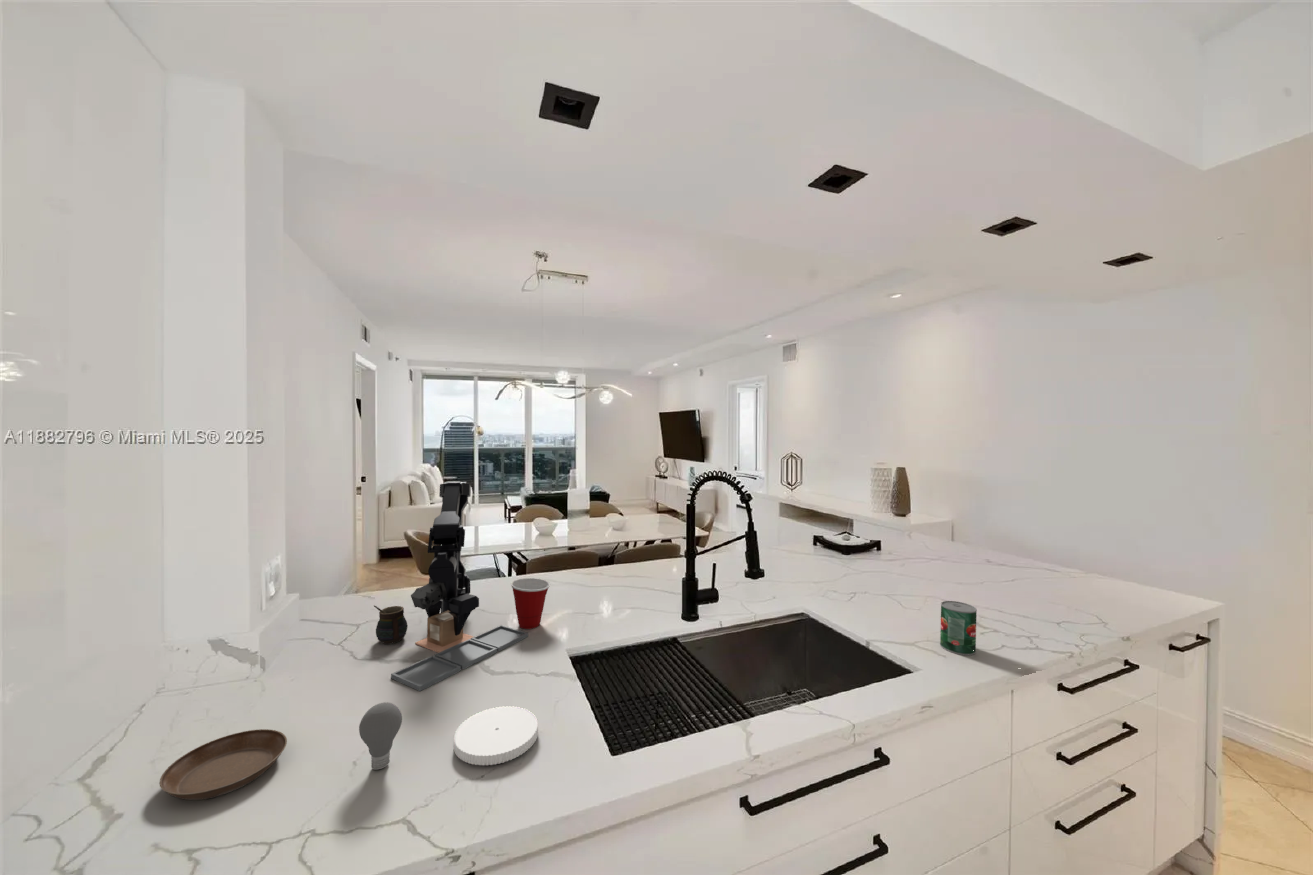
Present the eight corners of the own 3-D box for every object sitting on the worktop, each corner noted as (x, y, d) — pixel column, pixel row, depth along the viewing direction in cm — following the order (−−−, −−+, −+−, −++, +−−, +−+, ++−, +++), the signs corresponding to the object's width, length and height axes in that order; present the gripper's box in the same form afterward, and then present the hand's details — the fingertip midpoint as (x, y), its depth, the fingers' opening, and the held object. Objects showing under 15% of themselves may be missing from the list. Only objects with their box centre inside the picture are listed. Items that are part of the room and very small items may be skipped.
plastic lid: (539, 762, 79) (540, 747, 79) (448, 778, 75) (448, 762, 75) (536, 714, 92) (536, 701, 92) (458, 725, 88) (458, 712, 88)
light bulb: (370, 754, 80) (371, 695, 80) (407, 753, 80) (408, 694, 80) (350, 781, 74) (351, 716, 74) (391, 779, 74) (391, 715, 74)
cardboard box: (426, 641, 121) (427, 617, 121) (447, 632, 127) (448, 610, 127) (442, 646, 119) (442, 622, 118) (462, 637, 124) (463, 614, 124)
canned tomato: (981, 657, 119) (982, 613, 119) (946, 653, 121) (948, 610, 120) (967, 643, 127) (968, 602, 127) (935, 640, 128) (936, 599, 128)
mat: (415, 644, 121) (415, 642, 121) (449, 630, 129) (449, 628, 129) (440, 653, 116) (440, 651, 116) (474, 638, 125) (474, 636, 125)
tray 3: (470, 642, 122) (470, 638, 122) (501, 628, 131) (501, 624, 131) (498, 651, 117) (498, 647, 117) (527, 636, 126) (527, 632, 126)
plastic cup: (549, 631, 130) (550, 587, 129) (508, 634, 127) (508, 589, 127) (550, 616, 140) (550, 575, 140) (512, 618, 138) (512, 577, 138)
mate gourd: (412, 640, 123) (412, 601, 123) (379, 650, 117) (379, 610, 117) (402, 631, 128) (401, 594, 128) (370, 641, 122) (370, 602, 122)
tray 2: (434, 658, 113) (434, 654, 113) (469, 642, 122) (469, 639, 122) (462, 669, 108) (462, 665, 108) (496, 652, 117) (496, 648, 117)
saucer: (307, 741, 83) (307, 726, 83) (241, 809, 68) (241, 790, 68) (216, 745, 82) (215, 730, 82) (128, 815, 67) (128, 796, 67)
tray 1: (391, 678, 104) (391, 673, 104) (432, 659, 113) (432, 655, 113) (419, 691, 99) (419, 686, 99) (460, 670, 108) (460, 666, 108)
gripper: (393, 572, 120) (393, 634, 120) (442, 585, 111) (441, 652, 111) (433, 562, 130) (433, 619, 130) (480, 573, 121) (480, 634, 121)
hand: (445, 631), depth 123 cm, fingers open, 9 cm apart
